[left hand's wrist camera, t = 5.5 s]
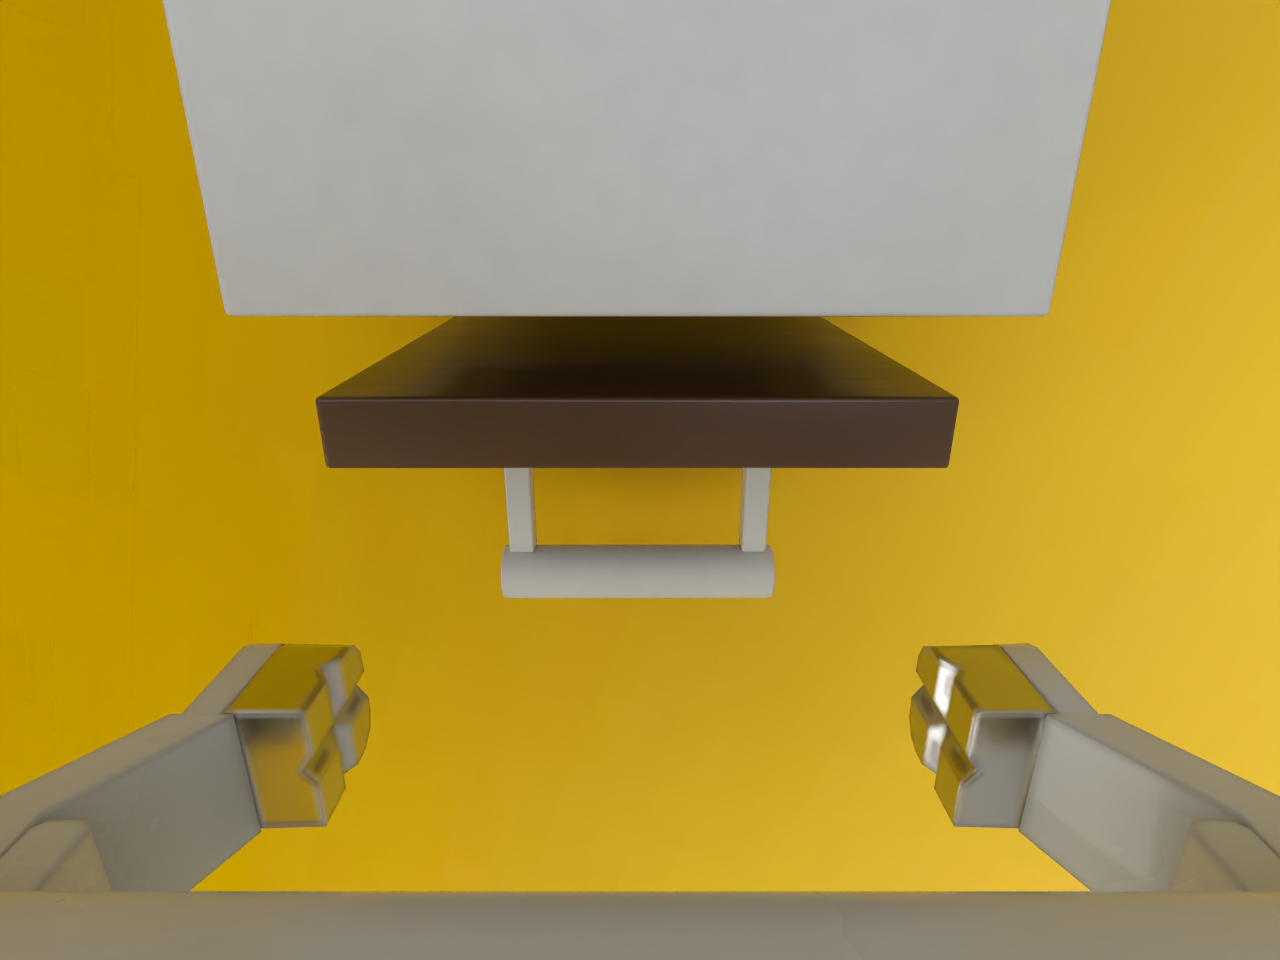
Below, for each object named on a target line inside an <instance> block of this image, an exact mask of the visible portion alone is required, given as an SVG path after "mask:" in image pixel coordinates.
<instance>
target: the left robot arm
mask: <svg viewBox="0 0 1280 960" xmlns="http://www.w3.org/2000/svg"><path fill="white" fill-rule="evenodd" d="M363 672H364V668H363V663H362V658H361V653H360V651H359V650H358V649H357V648H356V647H355V646H354V645H312V644H286V645H284V644H251V645H248V646H244V647H243V648H242V649H241V650H240V651H239V652H238V653H237V654H236V655H235V657H234V658H233V659H232V660H231V661H230V662H229V663H228V664H227V665H226V666H225V667H224V669H223V670H222V671H221V672H220V673H219V674H218V675H217V676H216V677H215V678H214V679H213V680H212V682H211V683H210V684H209V685H208V686H207V687H206V688H205V689H204V690H203V691H202V692H201V693H200V695H199V696H198V697H197V698H196V699H195V700H194V701H193V702H192V703H191V704H190V705H189V706H188V708H187V709H186V710H185V711H184V712H183V713H182V714H169V715H167V716H165V717H163V718H161V719H159V720H157V721H155V722H153V723H151V724H149V725H147V726H145V727H143V728H140V729H138V730H136V731H134V732H132V733H130V734H128V735H126V736H124V737H122V738H120V739H118V740H116V741H114V742H111V743H109V744H107V745H105V746H103V747H101V748H99V749H97V750H95V751H93V752H91V753H89V754H87V755H85V756H83V757H80V758H78V759H76V760H74V761H72V762H70V763H68V764H66V765H64V766H62V767H60V768H58V769H56V770H54V771H51V772H49V773H47V774H45V775H43V776H41V777H39V778H37V779H35V780H33V781H31V782H29V783H27V784H25V785H22V786H20V787H18V788H16V789H14V790H12V791H10V792H8V793H6V794H4V795H2V796H0V960H1280V796H1278V795H1276V794H1274V793H1272V792H1270V791H1267V790H1265V789H1263V788H1261V787H1259V786H1257V785H1255V784H1253V783H1251V782H1249V781H1247V780H1245V779H1243V778H1241V777H1239V776H1236V775H1234V774H1232V773H1230V772H1228V771H1226V770H1224V769H1222V768H1220V767H1218V766H1216V765H1214V764H1212V763H1210V762H1208V761H1206V760H1203V759H1201V758H1199V757H1197V756H1195V755H1193V754H1191V753H1189V752H1187V751H1185V750H1183V749H1181V748H1179V747H1177V746H1175V745H1172V744H1170V743H1168V742H1166V741H1164V740H1162V739H1160V738H1158V737H1156V736H1154V735H1152V734H1150V733H1148V732H1146V731H1144V730H1142V729H1139V728H1137V727H1135V726H1133V725H1131V724H1129V723H1127V722H1125V721H1123V720H1121V719H1119V718H1117V717H1115V716H1113V715H1111V714H1098V713H1097V712H1096V711H1095V710H1094V709H1093V708H1092V706H1091V705H1090V704H1089V703H1088V702H1087V701H1086V700H1085V699H1084V698H1083V697H1082V696H1081V695H1080V693H1079V692H1078V691H1077V690H1076V689H1075V688H1074V687H1073V686H1072V685H1071V684H1070V683H1069V682H1068V680H1067V679H1066V678H1065V677H1064V676H1063V675H1062V674H1061V673H1060V672H1059V671H1058V670H1057V668H1056V667H1055V666H1054V665H1053V664H1052V663H1051V662H1050V661H1049V660H1048V659H1047V658H1046V657H1045V655H1044V654H1043V653H1042V652H1041V651H1040V650H1039V649H1038V648H1037V647H1035V646H1033V645H1031V644H1028V643H1023V644H994V645H970V646H923V648H922V650H921V652H920V654H919V656H918V662H917V667H916V672H917V674H918V675H919V677H920V679H921V681H922V682H923V684H924V685H923V686H922V687H921V688H920V689H919V690H918V691H917V692H916V693H915V694H914V695H913V696H912V699H911V707H910V715H909V719H910V730H911V738H912V741H913V744H914V748H915V751H916V753H917V755H918V757H919V759H920V761H921V763H922V764H923V765H924V766H926V767H927V768H928V769H930V770H931V771H933V772H934V773H936V774H937V775H936V781H935V786H934V789H935V791H936V793H937V794H938V796H939V798H940V800H941V802H942V804H943V806H944V808H945V810H946V812H947V814H948V816H949V817H950V819H951V821H952V823H953V825H954V826H957V827H993V828H1019V832H1020V833H1022V834H1023V835H1024V836H1025V837H1026V838H1028V839H1029V840H1030V841H1031V842H1032V843H1034V844H1035V845H1036V846H1037V847H1038V848H1040V849H1041V850H1042V851H1043V852H1045V853H1046V854H1047V855H1048V856H1049V857H1051V858H1052V859H1053V860H1054V861H1055V862H1057V863H1058V864H1059V865H1060V866H1062V867H1063V868H1064V869H1065V870H1066V871H1068V872H1069V873H1070V874H1071V875H1072V876H1074V877H1075V878H1076V879H1077V880H1079V881H1080V882H1081V883H1082V884H1083V885H1085V886H1086V887H1087V888H1088V889H1089V890H1091V891H1085V892H835V891H725V892H211V891H190V890H191V889H192V888H193V887H194V886H196V885H197V884H198V883H199V882H200V881H202V880H203V879H204V878H205V877H207V876H208V875H209V874H210V873H211V872H213V871H214V870H215V869H216V868H217V867H219V866H220V865H221V864H222V863H224V862H225V861H226V860H227V859H228V858H230V857H231V856H232V855H233V854H235V853H236V852H237V851H238V850H239V849H241V848H242V847H243V846H244V845H245V844H247V843H248V842H249V841H250V840H252V839H253V838H254V837H255V836H256V835H258V834H259V833H260V832H261V828H287V827H321V826H326V825H327V823H328V821H329V820H330V818H331V816H332V814H333V812H334V810H335V808H336V806H337V804H338V802H339V800H340V798H341V796H342V794H343V793H344V791H345V789H346V786H345V781H344V775H343V774H344V773H346V772H347V771H349V770H350V769H352V768H353V767H354V766H356V765H357V764H358V763H359V761H360V759H361V757H362V755H363V753H364V751H365V749H366V744H367V740H368V735H369V731H370V705H369V698H368V696H367V695H366V694H365V693H364V692H363V691H362V690H361V689H360V688H359V687H358V686H357V685H356V684H357V682H358V681H359V679H360V677H361V675H362V674H363Z"/></svg>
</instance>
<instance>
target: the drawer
mask: <svg viewBox="0 0 1280 960" xmlns="http://www.w3.org/2000/svg"><path fill="white" fill-rule="evenodd" d="M958 404H959V400H958V398H957V397H956V396H954V395H952V394H950V393H949V392H947V391H945V390H944V389H942V388H940V387H939V386H937V385H935V384H933V383H932V382H930V381H928V380H927V379H925V378H923V377H922V376H920V375H918V374H917V373H915V372H913V371H911V370H910V369H908V368H906V367H905V366H903V365H901V364H900V363H898V362H896V361H894V360H893V359H891V358H889V357H888V356H886V355H884V354H883V353H881V352H879V351H877V350H876V349H874V348H872V347H871V346H869V345H867V344H866V343H864V342H862V341H860V340H859V339H857V338H855V337H854V336H852V335H850V334H849V333H847V332H845V331H844V330H842V329H840V328H838V327H837V326H835V325H833V324H832V323H830V322H828V321H827V320H825V319H823V318H821V317H820V316H455V317H454V318H452V319H450V320H448V321H447V322H445V323H443V324H442V325H440V326H438V327H437V328H435V329H433V330H431V331H430V332H428V333H426V334H425V335H423V336H421V337H420V338H418V339H416V340H414V341H413V342H411V343H409V344H408V345H406V346H404V347H402V348H401V349H399V350H397V351H396V352H394V353H392V354H391V355H389V356H387V357H385V358H384V359H382V360H380V361H379V362H377V363H375V364H373V365H372V366H370V367H368V368H367V369H365V370H363V371H362V372H360V373H358V374H356V375H355V376H353V377H351V378H350V379H348V380H346V381H344V382H343V383H341V384H339V385H338V386H336V387H334V388H333V389H331V390H329V391H327V392H326V393H324V394H322V395H321V396H319V397H317V398H316V406H317V412H318V418H319V424H320V431H321V437H322V443H323V449H324V455H325V461H326V466H327V467H329V468H504V475H505V489H506V504H507V518H508V532H509V545H506V546H505V548H504V550H503V554H502V560H501V588H502V593H503V596H504V597H505V598H770V597H772V594H773V591H774V583H775V565H774V556H773V552H772V549H771V546H770V545H766V537H767V522H768V508H769V494H770V479H771V468H946V467H948V465H949V459H950V453H951V447H952V441H953V434H954V428H955V422H956V416H957V410H958ZM533 468H743V474H742V493H741V511H740V529H739V543H740V545H536V543H537V535H536V517H535V499H534V481H533Z"/></svg>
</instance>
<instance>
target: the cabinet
mask: <svg viewBox="0 0 1280 960" xmlns="http://www.w3.org/2000/svg"><path fill="white" fill-rule="evenodd" d="M1110 3H1111V0H163V5H164V10H165V15H166V20H167V25H168V30H169V35H170V40H171V45H172V50H173V55H174V60H175V65H176V70H177V75H178V80H179V85H180V90H181V95H182V100H183V105H184V110H185V115H186V120H187V125H188V130H189V135H190V140H191V145H192V150H193V155H194V160H195V165H196V170H197V175H198V180H199V185H200V190H201V195H202V200H203V205H204V210H205V215H206V220H207V225H208V230H209V235H210V240H211V245H212V250H213V255H214V260H215V265H216V270H217V275H218V280H219V285H220V290H221V295H222V300H223V305H224V310H225V312H226V314H228V315H230V316H892V317H1042V316H1045V315H1047V314H1048V312H1049V310H1050V305H1051V300H1052V295H1053V290H1054V285H1055V280H1056V275H1057V269H1058V264H1059V259H1060V254H1061V249H1062V244H1063V239H1064V234H1065V229H1066V224H1067V219H1068V214H1069V209H1070V204H1071V199H1072V194H1073V189H1074V184H1075V179H1076V174H1077V169H1078V164H1079V159H1080V154H1081V149H1082V144H1083V139H1084V134H1085V129H1086V124H1087V119H1088V114H1089V109H1090V104H1091V99H1092V94H1093V89H1094V84H1095V78H1096V73H1097V68H1098V63H1099V58H1100V53H1101V48H1102V43H1103V38H1104V33H1105V28H1106V23H1107V18H1108V13H1109V8H1110Z"/></svg>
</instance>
